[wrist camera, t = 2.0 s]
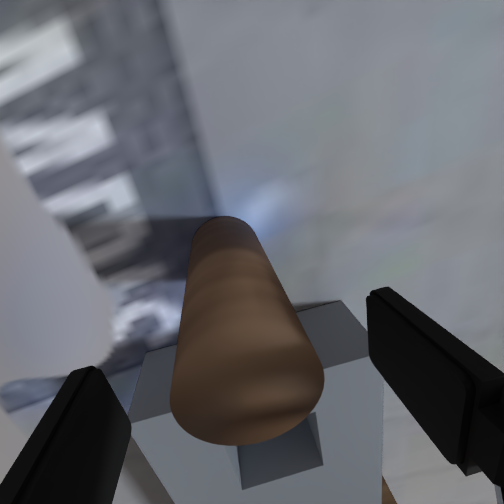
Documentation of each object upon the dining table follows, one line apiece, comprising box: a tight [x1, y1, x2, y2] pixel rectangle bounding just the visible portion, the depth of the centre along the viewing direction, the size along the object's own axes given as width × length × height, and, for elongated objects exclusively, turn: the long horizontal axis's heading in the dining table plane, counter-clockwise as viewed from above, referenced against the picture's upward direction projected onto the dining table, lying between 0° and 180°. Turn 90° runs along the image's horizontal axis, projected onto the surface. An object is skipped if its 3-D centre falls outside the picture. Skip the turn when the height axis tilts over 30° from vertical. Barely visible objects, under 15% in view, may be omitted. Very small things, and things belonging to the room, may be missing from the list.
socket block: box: [128, 301, 384, 504], centre depth 21 cm, size 22×14×5 cm, turn 11°
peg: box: [170, 216, 325, 446], centre depth 11 cm, size 4×4×10 cm
